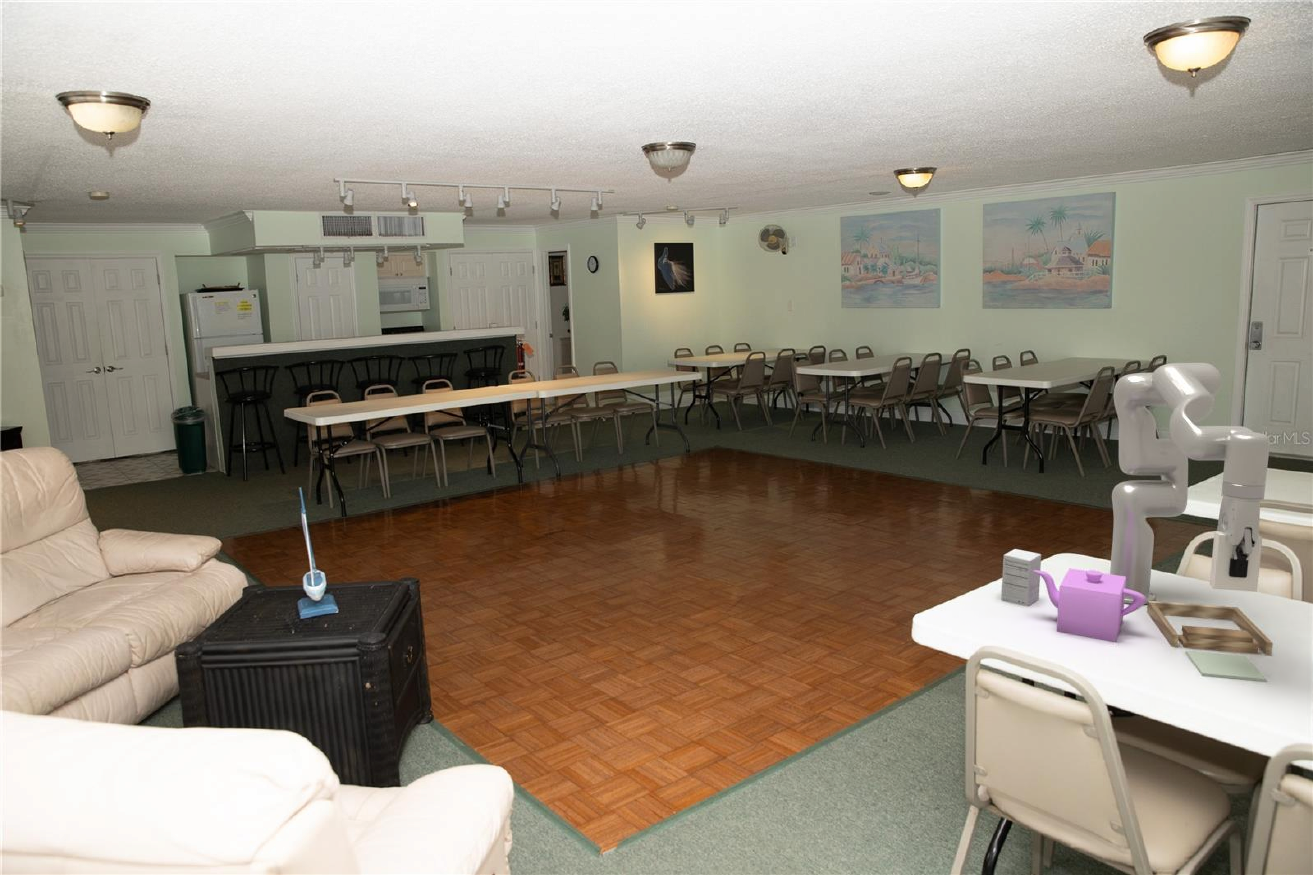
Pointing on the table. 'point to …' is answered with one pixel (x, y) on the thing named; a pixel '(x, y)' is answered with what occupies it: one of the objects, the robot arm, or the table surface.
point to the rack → (1203, 611)
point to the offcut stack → (1218, 639)
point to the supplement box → (1021, 577)
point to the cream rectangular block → (1222, 565)
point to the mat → (1225, 666)
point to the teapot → (1091, 603)
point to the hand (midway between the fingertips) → (1234, 573)
